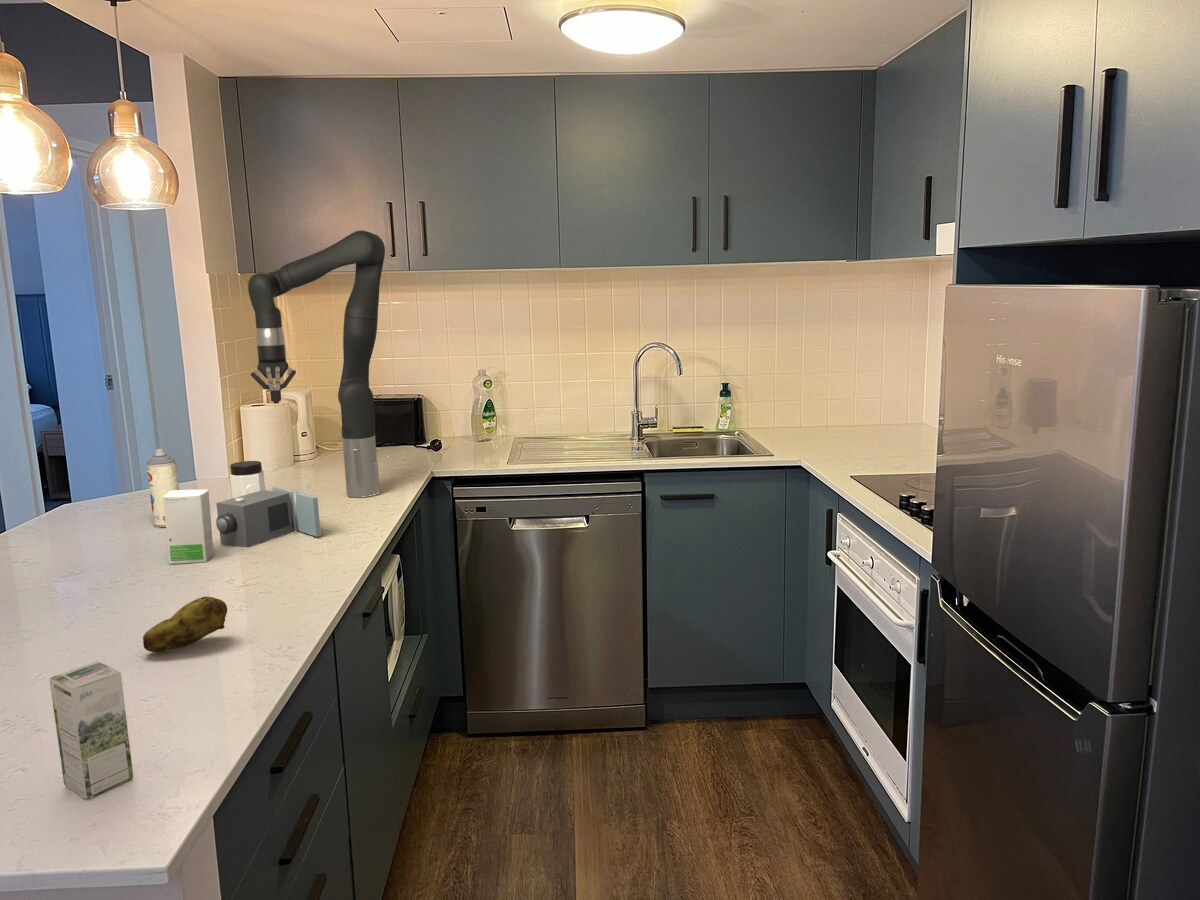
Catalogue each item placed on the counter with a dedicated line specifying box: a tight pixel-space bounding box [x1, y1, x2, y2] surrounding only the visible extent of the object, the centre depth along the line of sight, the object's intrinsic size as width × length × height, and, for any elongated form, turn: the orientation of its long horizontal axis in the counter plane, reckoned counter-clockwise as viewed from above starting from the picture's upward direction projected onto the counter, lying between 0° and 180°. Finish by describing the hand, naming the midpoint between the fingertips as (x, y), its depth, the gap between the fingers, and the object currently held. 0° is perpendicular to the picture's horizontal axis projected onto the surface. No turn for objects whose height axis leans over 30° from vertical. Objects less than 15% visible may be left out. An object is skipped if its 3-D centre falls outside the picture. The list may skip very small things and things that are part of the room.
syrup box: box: [49, 660, 134, 800], centre depth 106 cm, size 6×6×14 cm
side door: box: [271, 485, 322, 537], centre depth 218 cm, size 20×1×10 cm, turn 47°
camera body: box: [215, 489, 294, 548], centre depth 212 cm, size 16×9×11 cm, turn 153°
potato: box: [142, 596, 228, 654], centre depth 148 cm, size 8×13×8 cm, turn 104°
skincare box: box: [163, 489, 214, 565], centre depth 196 cm, size 8×7×16 cm
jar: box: [229, 460, 266, 499], centre depth 246 cm, size 9×8×12 cm
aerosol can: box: [146, 448, 180, 528], centre depth 227 cm, size 7×7×20 cm
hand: (276, 403), depth 256 cm, fingers closed
